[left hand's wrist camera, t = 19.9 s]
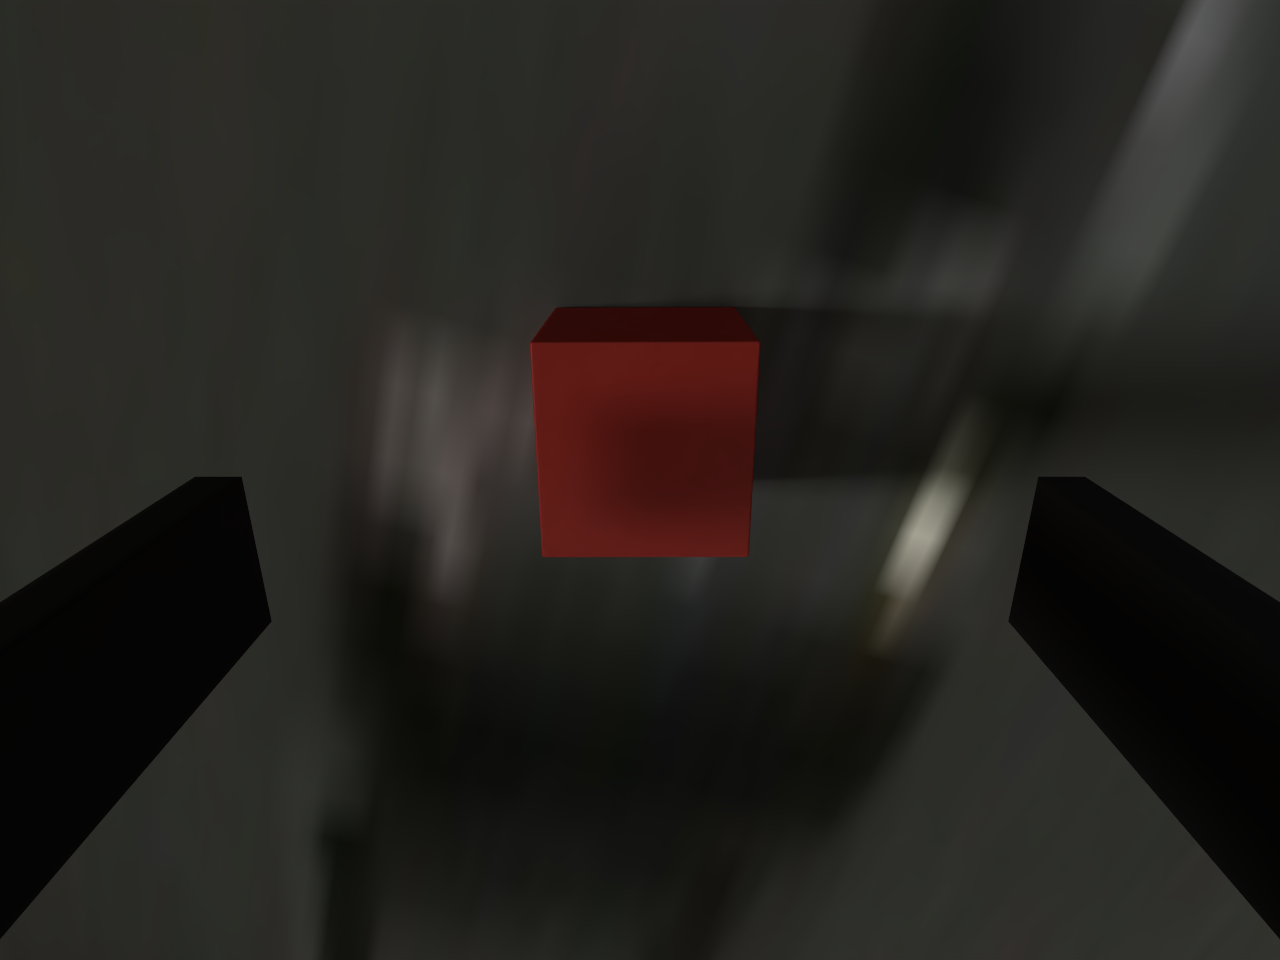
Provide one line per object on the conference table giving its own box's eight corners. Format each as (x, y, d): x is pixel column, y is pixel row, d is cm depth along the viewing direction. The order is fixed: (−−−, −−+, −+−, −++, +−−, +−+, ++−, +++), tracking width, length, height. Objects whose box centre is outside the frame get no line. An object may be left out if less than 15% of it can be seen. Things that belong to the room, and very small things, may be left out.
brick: (554, 307, 20) (529, 342, 15) (735, 306, 20) (760, 341, 15) (562, 482, 22) (541, 557, 17) (727, 481, 22) (748, 557, 17)
